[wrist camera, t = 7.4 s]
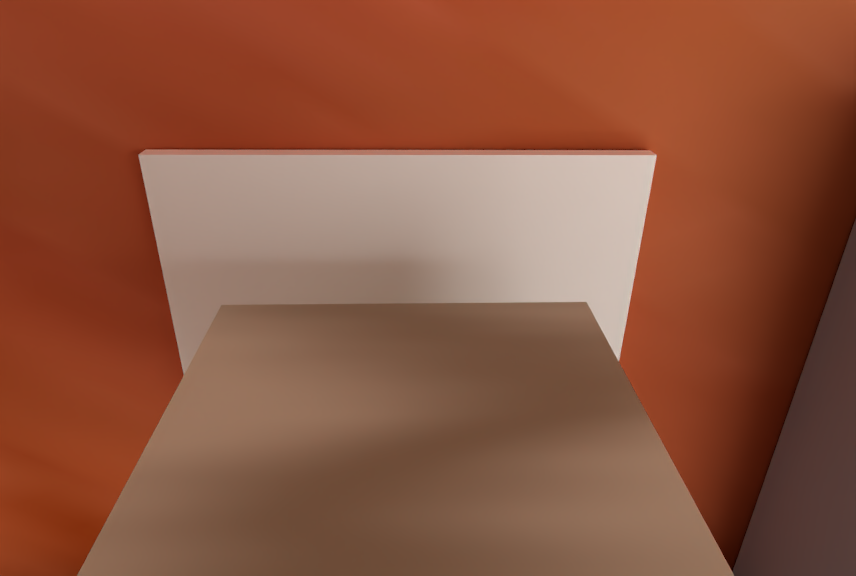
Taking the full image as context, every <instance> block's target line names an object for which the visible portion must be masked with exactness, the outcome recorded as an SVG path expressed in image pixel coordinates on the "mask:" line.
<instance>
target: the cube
mask: <svg viewBox="0 0 856 576" xmlns="http://www.w3.org/2000/svg"><path fill="white" fill-rule="evenodd" d="M77 576H734V574H733V572H732V571H731V569H730V567H729V565H728V563H727V561H726V559H725V558H724V556H723V554H722V552H721V550H720V548H719V546H718V545H717V543H716V541H715V539H714V537H713V535H712V534H711V532H710V530H709V528H708V526H707V524H706V522H705V521H704V519H703V517H702V515H701V513H700V511H699V509H698V508H697V506H696V504H695V502H694V500H693V498H692V496H691V495H690V493H689V491H688V489H687V487H686V485H685V484H684V482H683V480H682V478H681V476H680V474H679V472H678V471H677V469H676V467H675V465H674V463H673V461H672V459H671V458H670V456H669V454H668V452H667V450H666V448H665V446H664V445H663V443H662V441H661V439H660V437H659V435H658V434H657V432H656V430H655V428H654V426H653V424H652V422H651V421H650V419H649V417H648V415H647V413H646V411H645V409H644V408H643V406H642V404H641V402H640V400H639V398H638V396H637V395H636V393H635V391H634V389H633V387H632V385H631V383H630V382H629V380H628V378H627V376H626V374H625V372H624V371H623V369H622V367H621V365H620V363H619V361H618V359H617V358H616V356H615V354H614V352H613V350H612V348H611V346H610V345H609V343H608V341H607V339H606V337H605V335H604V333H603V332H602V330H601V328H600V326H599V324H598V322H597V321H596V319H595V317H594V315H593V313H592V311H591V309H590V308H589V306H588V304H587V302H513V303H391V304H268V305H221V307H220V309H219V310H218V312H217V314H216V316H215V318H214V320H213V322H212V324H211V325H210V327H209V329H208V331H207V333H206V335H205V337H204V339H203V340H202V342H201V344H200V346H199V348H198V350H197V352H196V354H195V355H194V357H193V359H192V361H191V363H190V365H189V367H188V369H187V370H186V372H185V374H184V376H183V378H182V380H181V382H180V384H179V385H178V387H177V389H176V391H175V393H174V395H173V397H172V399H171V400H170V402H169V404H168V406H167V408H166V410H165V412H164V414H163V415H162V417H161V419H160V421H159V423H158V425H157V427H156V429H155V430H154V432H153V434H152V436H151V438H150V440H149V442H148V444H147V445H146V447H145V449H144V451H143V453H142V455H141V457H140V459H139V460H138V462H137V464H136V466H135V468H134V470H133V472H132V474H131V475H130V477H129V479H128V481H127V483H126V485H125V487H124V489H123V490H122V492H121V494H120V496H119V498H118V500H117V502H116V504H115V505H114V507H113V509H112V511H111V513H110V515H109V517H108V519H107V520H106V522H105V524H104V526H103V528H102V530H101V532H100V534H99V535H98V537H97V539H96V541H95V543H94V545H93V547H92V549H91V550H90V552H89V554H88V556H87V558H86V560H85V562H84V564H83V565H82V567H81V569H80V571H79V573H78V575H77Z"/></svg>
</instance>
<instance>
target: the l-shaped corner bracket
mask: <svg viewBox="0 0 856 576" xmlns="http://www.w3.org/2000/svg"><path fill="white" fill-rule="evenodd" d="M138 156H139V161H140V166H141V170H142V175H143V180H144V185H145V190H146V195H147V199H148V204H149V209H150V214H151V219H152V224H153V229H154V233H155V238H156V243H157V248H158V253H159V258H160V263H161V267H162V272H163V277H164V282H165V287H166V292H167V296H168V301H169V306H170V311H171V316H172V321H173V326H174V330H175V335H176V340H177V345H178V350H179V355H180V359H181V364H182V369H183V374H185V372H186V370H187V369H188V367H189V365H190V363H191V361H192V359H193V357H194V355H195V354H196V352H197V350H198V348H199V346H200V344H201V342H202V340H203V339H204V337H205V335H206V333H207V331H208V329H209V327H210V325H211V324H212V322H213V320H214V318H215V316H216V314H217V312H218V310H219V309H220V307H221V305H268V304H391V303H513V302H587V304H588V306H589V308H590V309H591V311H592V313H593V315H594V317H595V319H596V321H597V322H598V324H599V326H600V328H601V330H602V332H603V333H604V335H605V337H606V339H607V341H608V343H609V345H610V346H611V348H612V350H613V352H614V354H615V356H616V358H617V359H618V361H619V359H620V353H621V348H622V342H623V337H624V331H625V326H626V321H627V315H628V310H629V304H630V299H631V293H632V288H633V282H634V277H635V271H636V266H637V260H638V255H639V249H640V244H641V239H642V233H643V228H644V222H645V217H646V211H647V206H648V200H649V195H650V189H651V184H652V178H653V173H654V167H655V162H656V157H657V155H656V154H654V153H653V152H652V151H651V150H179V149H145V150H144V151H143V152H141V153H140V154H139V155H138ZM733 574H734V576H856V219H855V222H854V225H853V228H852V231H851V233H850V236H849V239H848V242H847V245H846V248H845V251H844V253H843V256H842V259H841V262H840V265H839V268H838V271H837V274H836V276H835V279H834V282H833V285H832V288H831V291H830V294H829V296H828V299H827V302H826V305H825V308H824V311H823V314H822V317H821V319H820V322H819V325H818V328H817V331H816V334H815V337H814V339H813V342H812V345H811V348H810V351H809V354H808V357H807V360H806V362H805V365H804V368H803V371H802V374H801V377H800V380H799V382H798V385H797V388H796V391H795V394H794V397H793V400H792V402H791V405H790V408H789V411H788V414H787V417H786V420H785V423H784V425H783V428H782V431H781V434H780V437H779V440H778V443H777V445H776V448H775V451H774V454H773V457H772V460H771V463H770V466H769V468H768V471H767V474H766V477H765V480H764V483H763V486H762V488H761V491H760V494H759V497H758V500H757V503H756V506H755V509H754V511H753V514H752V517H751V520H750V523H749V526H748V529H747V531H746V534H745V537H744V540H743V543H742V546H741V549H740V552H739V554H738V557H737V560H736V563H735V566H734V569H733Z"/></svg>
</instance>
